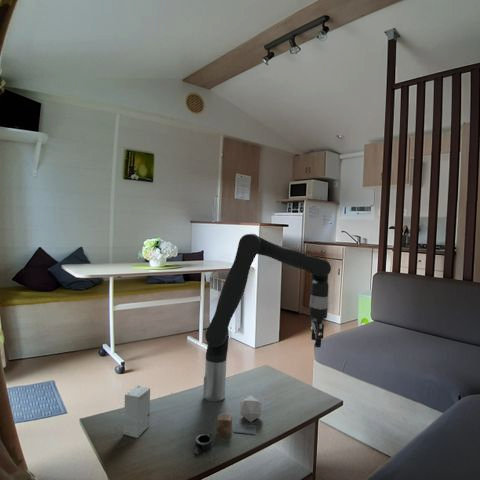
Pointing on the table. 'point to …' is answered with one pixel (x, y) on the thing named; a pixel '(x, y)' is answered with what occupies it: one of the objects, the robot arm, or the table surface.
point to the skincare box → (137, 411)
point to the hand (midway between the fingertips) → (315, 343)
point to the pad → (245, 429)
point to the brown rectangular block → (224, 425)
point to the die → (250, 408)
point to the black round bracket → (203, 443)
